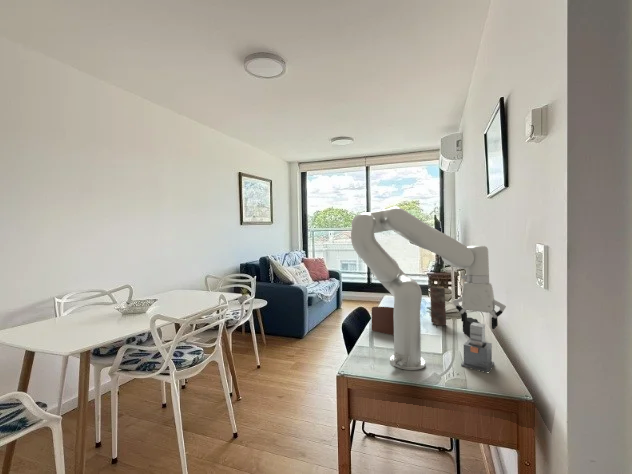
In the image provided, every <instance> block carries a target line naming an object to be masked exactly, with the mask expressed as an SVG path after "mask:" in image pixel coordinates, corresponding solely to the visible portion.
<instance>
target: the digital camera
mask: <svg viewBox="0 0 632 474" xmlns="http://www.w3.org/2000/svg"><path fill="white" fill-rule="evenodd" d="M473 322H474V323H480V324H482V323H481V322H479V321H478V319H477V318H473V317H467V323H466V324H465V325H463V324H462V332H463V333H464V334H466V335H467V336H468V337H469V338H470V325H471V324H472V323H473Z"/></svg>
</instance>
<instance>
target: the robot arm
mask: <svg viewBox="0 0 632 474" xmlns="http://www.w3.org/2000/svg"><path fill="white" fill-rule="evenodd" d="M350 224H351V231H350V238H351V239H350V240H351V244H352V247H353V250H354V251H355V252H356V254H357V255H358V257H359V258H360V259H361V260H362V261H363V263H364V264H365V265H366V266H367V267H368V268H369V269H370V272H371V274H372V275H373V276H374V277H375V278H376V280H378V281H379V283H380V284H381V285H382V286H383V287H384V288H385V289H386V290H387V291H388V292H389V293H390V294H391V296H393V301H394V302H393V308H394V312H393V319H394V335H393V354H392V355H391V356H390V358H389V364H390V365H391V366H393V367H395V368H397V369H400V370H405V371H418V370H421V369H424V368H425V367H426V360H425V359H424V358H423V357H422V346H421V345H422V344H421V343H422V342H421V341H422V339H421V338H422V337H421V336H422V335H421V334H422V333H421V331H422V330H421V309H422V307H421V306H422V298H423V296H422V294H423V293H422V289H421V286H420V284H419V283H418V282H417V281H416V280H414V279H413V278H412V277H409V276H408V275H407V274H406V273H405V272H404V271H403V270H402V269H401V268H400V266H399V264H398V263H397V261H396V259H394V258H393V257H392V256H391V255H390V254H389V253H388V252H387V251H386V250H385V249H384V248H383V247H382V245H381V244H380V243H379V242H378V241H377V238H376V236H375V234H377V233H382V232H383V233H384V232H387V231H393V232H394V233H396V234H397V235H399V236H401V237H402V238H404V239H406V240H407V241H409V242H411V243H412V244H413V245H414V246H417V247H418V248H422V249H424V250H427V251H429V252H432V253H434V254H436V255H438V256H440V257H441V260H442V261H443V262H444V264H446V265H448V266H449V267H455V268H457V269H465V274H464V275H461V279H462V280H465V281H464V282H463V285H462V295H461V297H459V298H457V299H454V300H453V301H452V303H453V304H454V306H455V308H456V309H457V311H459V314H461V317H460V319H461V322H462V326H463V325H465V324H466V323H467V318H468V312H466V311H470V312H471V311H472V312H478V313H488V314H490V315H491V316H492V317H491V329H492V330H495V329H496V327H498V317H499V316H501V315H502V314H503V313H504V311H505V310H506V308H507V306H506V305H505V304H503V303H501V302H499V301H498V300H496V299H495V295H494V290H493V284H492V283H491V282H490V268H489V267H490V266H489V249H488V247H487V246H486V245H475V244H474V245H468V246H466V245H464V244H463V243H461V242H460V241H458V240H457V239H455V238H453V237H451V236H449V235H447V234H446V233H444V232H442V231H440V230H438V229H436V228H435V227H433V226H431V225H429V224H427V223H426V222H424V221H422V220H421V219H419V218H418V217H416V216H414V215H413V214H411V213H410V212H408V211H406V210H405V209H403V208H401V207H399V206H392V207H390V208H385V209H382V210H381V209H380V210H376V211H370V212H361V213H358V214H357V215H355V216H354V217H353V218H352V220H351V223H350ZM460 303H461V305H460ZM495 307H498V308H499V310H498V311H496V310H495Z"/></svg>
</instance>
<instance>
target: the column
mask: <svg viewBox="0 0 632 474" xmlns="http://www.w3.org/2000/svg"><path fill="white" fill-rule="evenodd" d="M480 323H481V322H479V323H474V322H473V323H472V324H471V325H470V337H469V339H470V345H473V346H478V347H482V348H484V347H485V342H486V324H485V323H481V324H480Z"/></svg>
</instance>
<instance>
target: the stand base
mask: <svg viewBox="0 0 632 474" xmlns="http://www.w3.org/2000/svg"><path fill="white" fill-rule="evenodd" d="M492 344H493V343H492V342H487V341H485V347H484V348H482V347H478V346H473V345H470V338H468V339H467V341H466V342H465V343H464V344H463V361H462V363H461V365H460V366H461V367H462V368H463V367H464V368H467V369H470V368H472V369H471V370H474V369H476V370H475V371H477V370H480V371H479V372H481V371H484V372H483V373H485V372H489V371H490V370H492V369H493V368H494V366H495V361H493V358H492V356H493V355H492V354H493V353H492V350H493V349H492ZM492 367H493V368H492ZM491 368H492V369H491ZM490 372H491V371H490ZM490 372H489V373H490Z"/></svg>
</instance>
